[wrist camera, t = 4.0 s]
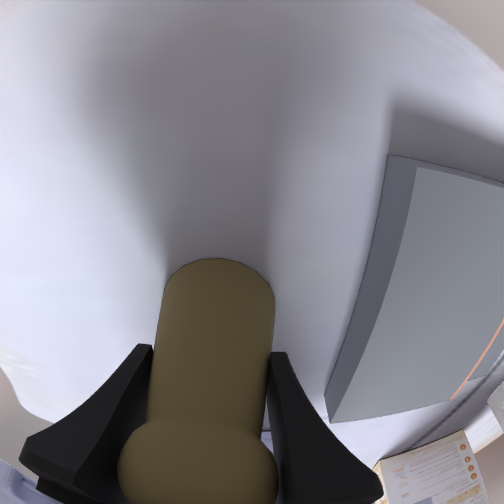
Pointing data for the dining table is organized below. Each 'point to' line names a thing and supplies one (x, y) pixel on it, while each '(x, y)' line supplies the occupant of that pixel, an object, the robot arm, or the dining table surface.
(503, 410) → the white spray bottle
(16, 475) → the robot arm
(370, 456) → the dining table surface
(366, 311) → the stepped stand
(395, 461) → the coffeecake box
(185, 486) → the cork
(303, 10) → the dining table surface
